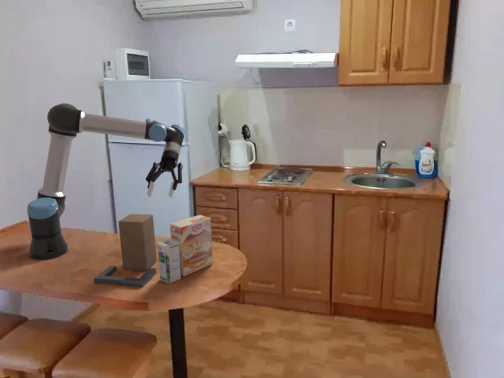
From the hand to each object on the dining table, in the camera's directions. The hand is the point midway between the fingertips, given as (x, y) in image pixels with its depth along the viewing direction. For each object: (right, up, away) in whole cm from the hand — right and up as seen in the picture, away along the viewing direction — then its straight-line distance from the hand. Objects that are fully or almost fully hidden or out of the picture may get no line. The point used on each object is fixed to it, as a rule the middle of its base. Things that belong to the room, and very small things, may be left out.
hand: (159, 195), depth 184 cm
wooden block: (-4, -28, -16) cm, 32 cm away
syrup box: (+10, -31, -29) cm, 44 cm away
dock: (-6, -31, -27) cm, 41 cm away
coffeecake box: (+18, -28, -20) cm, 39 cm away
